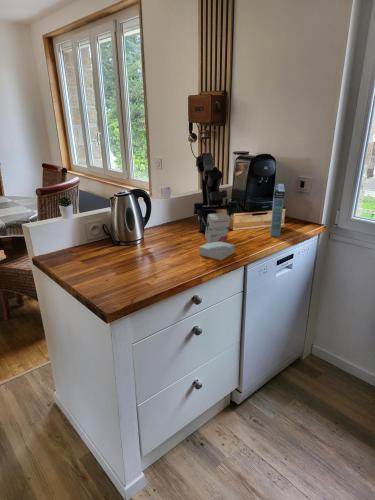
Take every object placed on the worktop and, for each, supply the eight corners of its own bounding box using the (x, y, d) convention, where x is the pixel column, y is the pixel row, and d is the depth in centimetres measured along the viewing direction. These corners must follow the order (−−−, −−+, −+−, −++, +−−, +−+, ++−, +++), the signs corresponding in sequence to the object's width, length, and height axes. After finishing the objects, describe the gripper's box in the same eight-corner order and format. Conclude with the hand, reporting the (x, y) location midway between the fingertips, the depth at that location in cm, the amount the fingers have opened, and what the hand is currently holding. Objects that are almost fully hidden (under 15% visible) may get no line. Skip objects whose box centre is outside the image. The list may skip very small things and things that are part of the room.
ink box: (222, 234, 149) (226, 211, 142) (226, 240, 146) (231, 217, 139) (204, 236, 147) (207, 213, 140) (208, 243, 143) (212, 219, 136)
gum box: (270, 225, 186) (274, 183, 178) (280, 225, 185) (284, 183, 177) (270, 236, 168) (273, 190, 160) (280, 237, 167) (284, 191, 159)
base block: (199, 255, 147) (199, 246, 146) (212, 248, 156) (213, 239, 154) (221, 261, 141) (221, 252, 140) (233, 253, 149) (234, 244, 148)
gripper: (193, 183, 140) (196, 217, 134) (237, 182, 142) (243, 215, 136) (191, 198, 150) (194, 229, 144) (233, 196, 152) (237, 227, 146)
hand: (217, 225), depth 142 cm, fingers closed on ink box, 9 cm apart
